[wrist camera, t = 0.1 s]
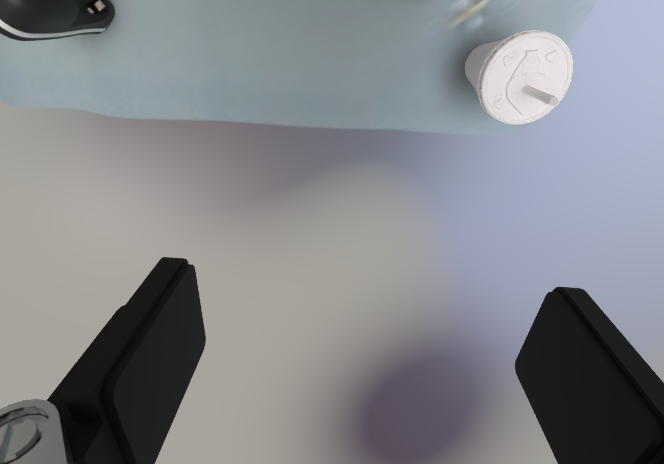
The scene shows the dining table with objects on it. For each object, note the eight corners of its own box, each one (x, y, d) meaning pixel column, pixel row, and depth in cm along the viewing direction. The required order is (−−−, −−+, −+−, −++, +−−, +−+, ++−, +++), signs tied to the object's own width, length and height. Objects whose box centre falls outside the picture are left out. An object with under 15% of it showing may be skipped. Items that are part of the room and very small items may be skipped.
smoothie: (448, 102, 37) (495, 147, 25) (452, 30, 34) (509, 39, 22) (514, 96, 36) (597, 138, 24) (525, 21, 33) (626, 27, 21)
